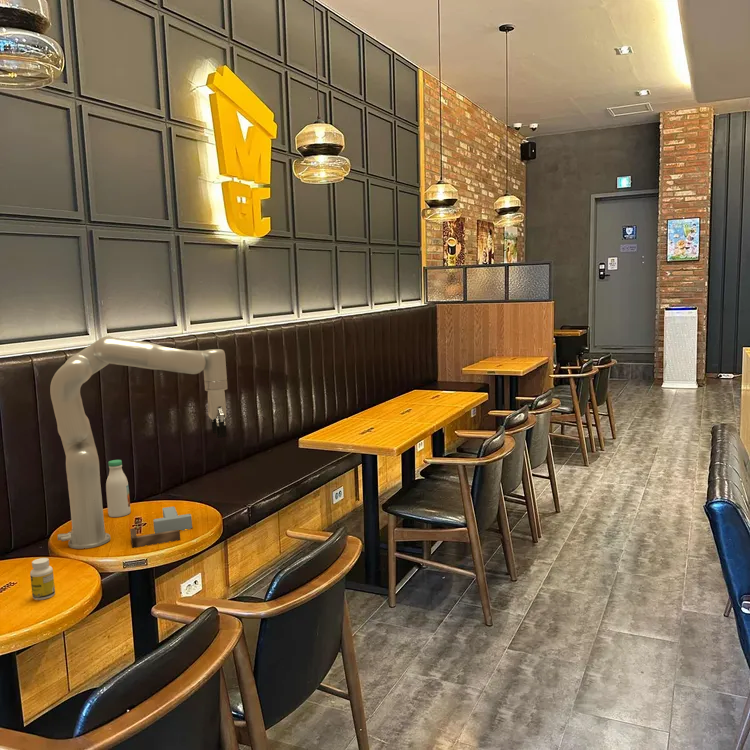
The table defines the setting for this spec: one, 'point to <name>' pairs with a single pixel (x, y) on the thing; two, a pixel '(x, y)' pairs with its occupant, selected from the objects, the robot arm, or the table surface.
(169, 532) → the corner fence
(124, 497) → the milk bottle
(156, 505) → the table surface
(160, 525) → the t block
